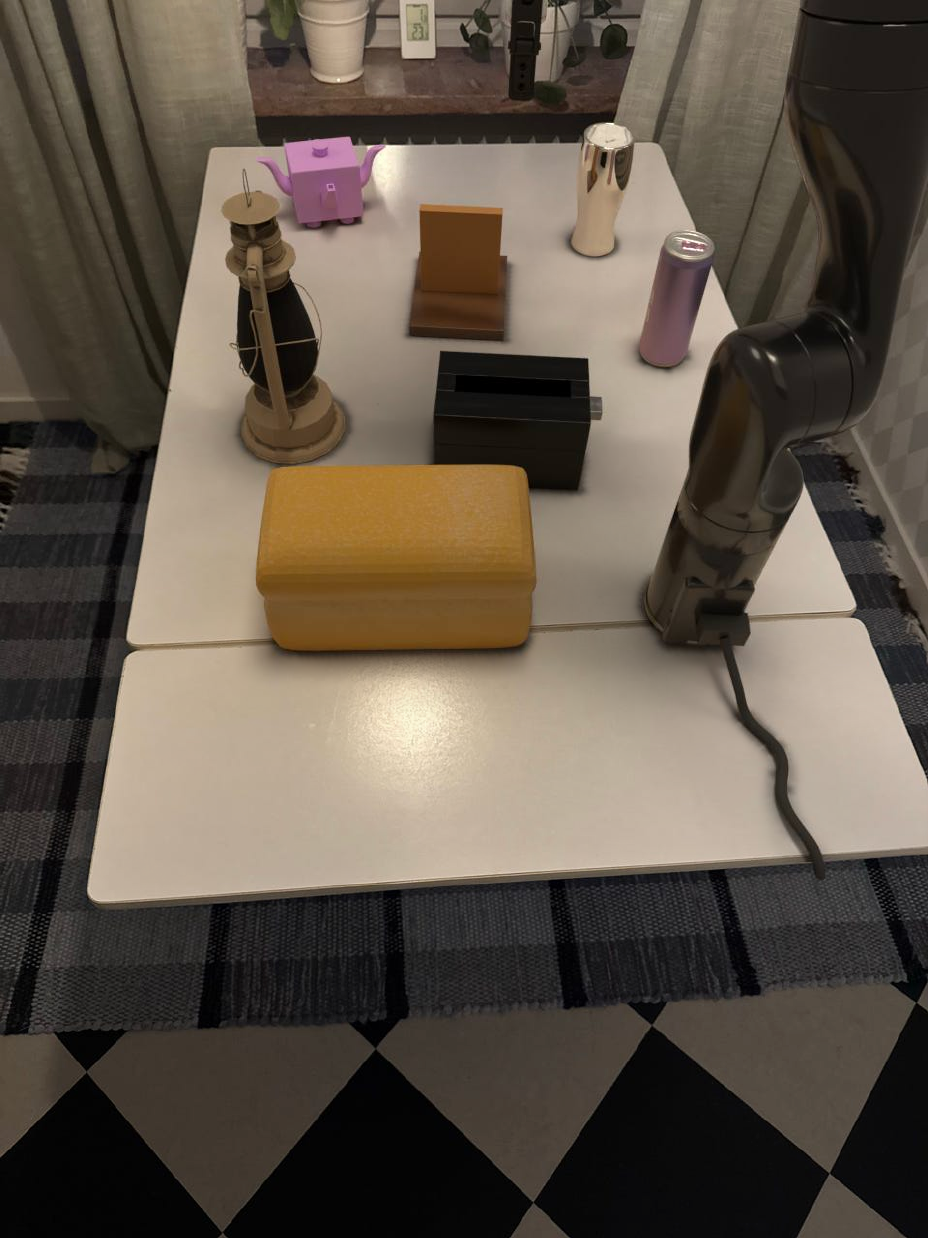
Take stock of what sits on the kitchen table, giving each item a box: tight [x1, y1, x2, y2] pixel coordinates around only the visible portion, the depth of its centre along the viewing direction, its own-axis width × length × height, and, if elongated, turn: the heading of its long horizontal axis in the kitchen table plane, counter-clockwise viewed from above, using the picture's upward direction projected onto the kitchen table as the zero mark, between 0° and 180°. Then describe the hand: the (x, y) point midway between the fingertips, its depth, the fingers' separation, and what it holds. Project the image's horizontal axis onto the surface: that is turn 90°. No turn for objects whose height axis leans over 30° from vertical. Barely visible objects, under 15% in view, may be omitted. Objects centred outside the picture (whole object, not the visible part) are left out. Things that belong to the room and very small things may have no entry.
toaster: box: [432, 350, 604, 491], centre depth 93 cm, size 10×18×10 cm, turn 87°
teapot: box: [254, 136, 387, 229], centre depth 119 cm, size 18×13×10 cm
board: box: [408, 251, 508, 341], centre depth 112 cm, size 16×12×2 cm
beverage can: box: [638, 229, 716, 368], centre depth 101 cm, size 6×6×15 cm
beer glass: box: [570, 122, 636, 257], centre depth 114 cm, size 7×7×15 cm
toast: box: [418, 203, 504, 294], centre depth 107 cm, size 1×10×11 cm, turn 87°
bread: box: [255, 464, 538, 652], centre depth 80 cm, size 24×13×15 cm, turn 92°
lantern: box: [220, 168, 346, 465], centre depth 87 cm, size 14×12×30 cm
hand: (521, 76), depth 78 cm, fingers open, 8 cm apart
